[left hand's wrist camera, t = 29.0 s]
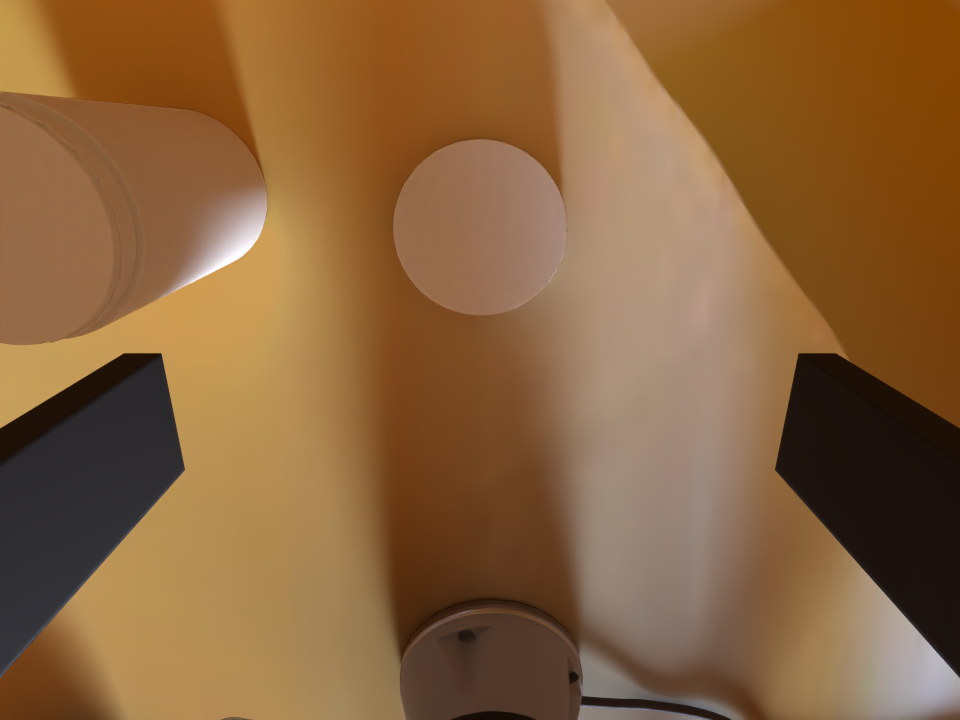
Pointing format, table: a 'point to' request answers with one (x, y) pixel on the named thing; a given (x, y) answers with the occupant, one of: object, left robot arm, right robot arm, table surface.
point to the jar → (113, 210)
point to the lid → (480, 227)
